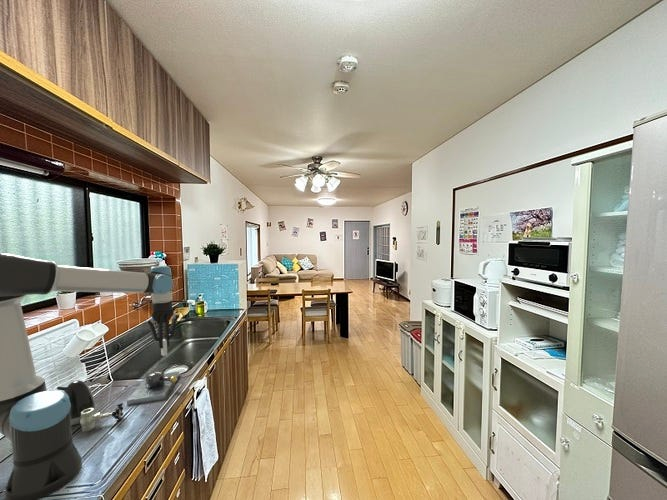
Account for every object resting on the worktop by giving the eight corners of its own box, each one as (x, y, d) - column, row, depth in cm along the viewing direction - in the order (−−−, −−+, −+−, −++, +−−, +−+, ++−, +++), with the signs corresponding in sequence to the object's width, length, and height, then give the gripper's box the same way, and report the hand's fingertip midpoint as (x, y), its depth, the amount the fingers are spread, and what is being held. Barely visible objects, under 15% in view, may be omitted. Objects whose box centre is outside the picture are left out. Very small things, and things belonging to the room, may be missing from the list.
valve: (77, 435, 99) (119, 425, 104) (76, 417, 99) (118, 408, 104) (84, 424, 105) (124, 415, 110) (83, 407, 105) (123, 399, 110)
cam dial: (182, 382, 130) (181, 370, 130) (170, 390, 123) (169, 378, 123) (154, 379, 134) (153, 368, 133) (141, 387, 127) (140, 375, 126)
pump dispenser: (65, 417, 110) (62, 378, 109) (99, 409, 114) (96, 372, 114) (52, 433, 101) (50, 391, 100) (90, 424, 105) (87, 384, 104)
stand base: (165, 399, 120) (164, 385, 120) (127, 405, 117) (126, 390, 117) (179, 375, 142) (178, 363, 141) (147, 379, 138) (146, 367, 138)
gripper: (174, 298, 132) (176, 348, 132) (142, 302, 122) (144, 357, 122) (181, 299, 127) (183, 352, 127) (148, 305, 117) (150, 361, 117)
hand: (164, 354), depth 125 cm, fingers closed
